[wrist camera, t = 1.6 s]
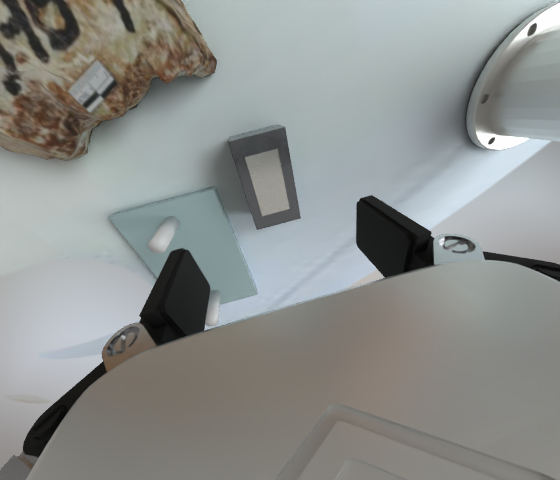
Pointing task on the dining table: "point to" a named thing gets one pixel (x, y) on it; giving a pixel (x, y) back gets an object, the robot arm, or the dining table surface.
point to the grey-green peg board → (191, 242)
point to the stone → (86, 66)
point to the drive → (266, 175)
